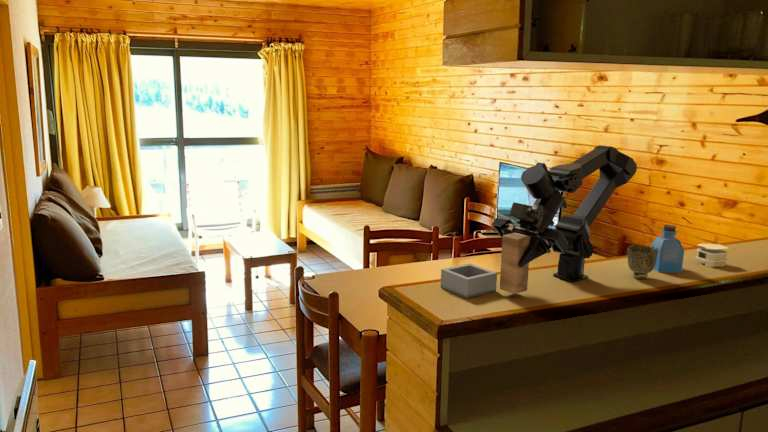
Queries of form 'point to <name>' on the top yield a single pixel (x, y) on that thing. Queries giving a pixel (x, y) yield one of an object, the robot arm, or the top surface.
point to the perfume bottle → (668, 251)
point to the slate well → (468, 280)
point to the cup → (641, 260)
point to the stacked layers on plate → (712, 254)
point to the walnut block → (514, 263)
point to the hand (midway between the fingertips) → (511, 263)
